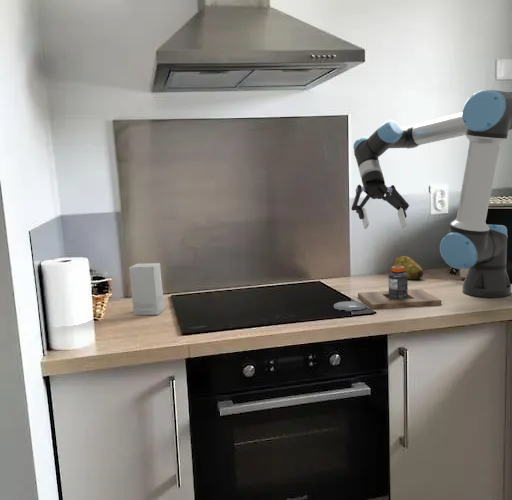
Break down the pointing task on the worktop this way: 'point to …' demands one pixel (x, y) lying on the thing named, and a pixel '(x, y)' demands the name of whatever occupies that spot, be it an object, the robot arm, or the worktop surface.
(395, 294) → the pill bottle
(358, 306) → the coaster
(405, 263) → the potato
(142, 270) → the skincare box
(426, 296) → the pocket board
